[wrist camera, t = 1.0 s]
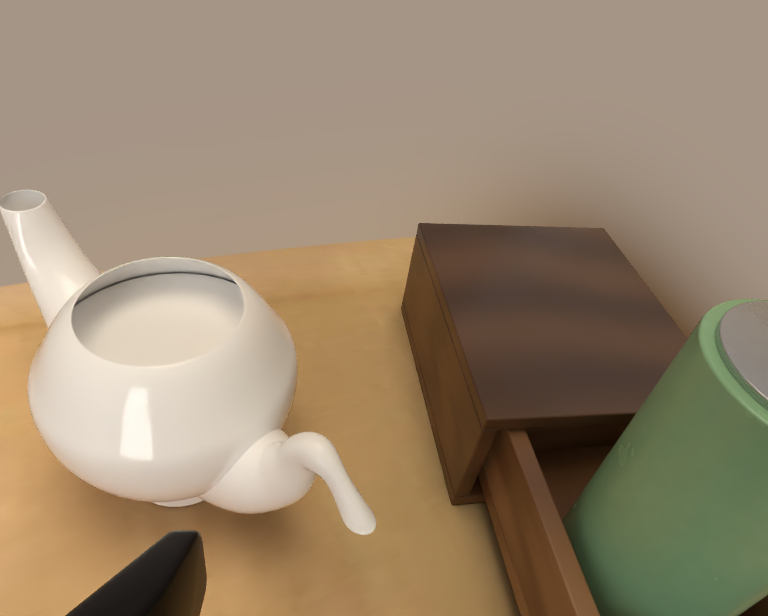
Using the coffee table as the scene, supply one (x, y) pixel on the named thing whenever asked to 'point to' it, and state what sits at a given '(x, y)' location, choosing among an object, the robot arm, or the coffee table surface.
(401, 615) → the coffee table surface
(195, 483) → the teapot
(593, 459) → the drawer
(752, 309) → the can
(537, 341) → the cabinet
